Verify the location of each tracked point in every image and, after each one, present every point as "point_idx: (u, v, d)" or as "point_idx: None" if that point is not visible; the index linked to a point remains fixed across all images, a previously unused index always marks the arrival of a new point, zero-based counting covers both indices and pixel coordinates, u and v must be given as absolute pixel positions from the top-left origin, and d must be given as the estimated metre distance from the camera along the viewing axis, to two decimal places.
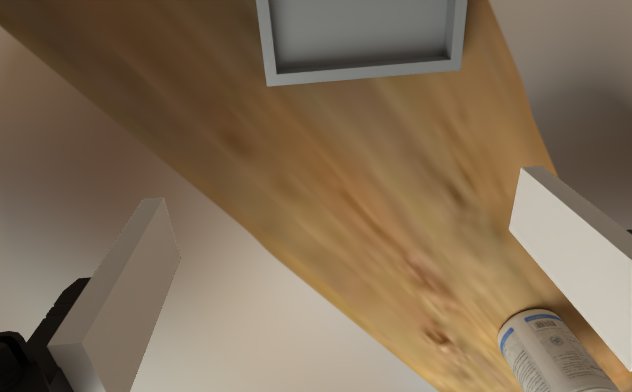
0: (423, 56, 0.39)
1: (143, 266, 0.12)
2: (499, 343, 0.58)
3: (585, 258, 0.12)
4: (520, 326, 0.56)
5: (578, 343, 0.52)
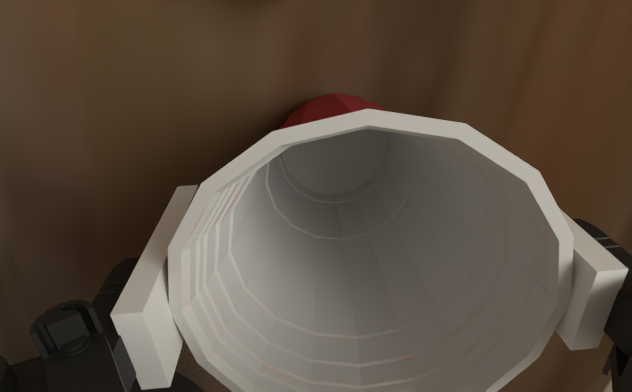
0: None
1: None
2: None
3: None
4: None
5: None
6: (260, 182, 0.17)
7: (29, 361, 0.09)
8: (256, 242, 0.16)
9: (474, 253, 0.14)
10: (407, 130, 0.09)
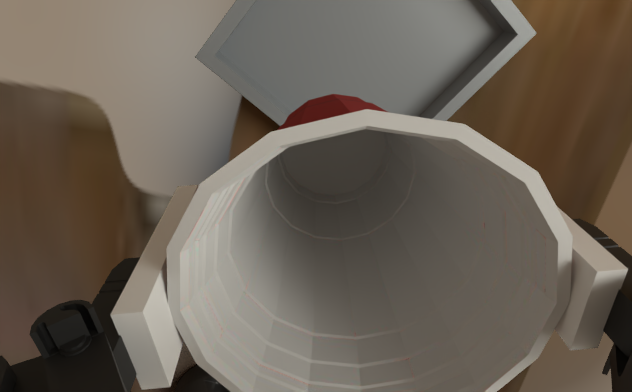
0: None
1: None
2: None
3: None
4: None
5: None
6: (259, 182, 0.17)
7: (29, 361, 0.09)
8: (255, 242, 0.16)
9: (473, 253, 0.14)
10: (406, 131, 0.09)
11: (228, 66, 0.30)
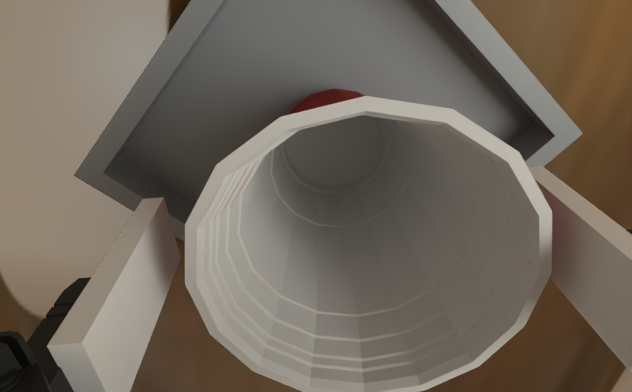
0: None
1: (143, 266, 0.12)
2: None
3: (585, 258, 0.12)
4: None
5: None
6: (265, 171, 0.18)
7: None
8: (262, 227, 0.17)
9: (465, 234, 0.15)
10: (401, 115, 0.10)
11: (126, 185, 0.21)
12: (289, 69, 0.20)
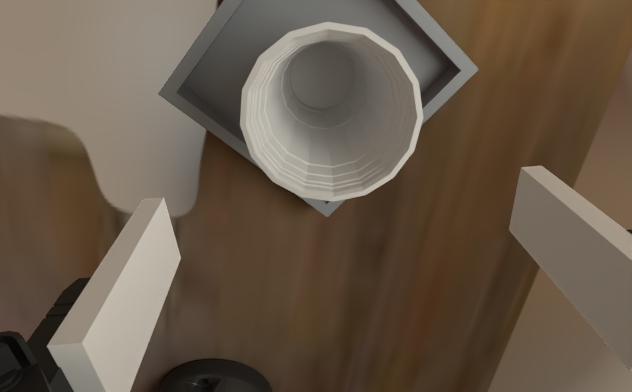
0: None
1: (143, 266, 0.12)
2: None
3: (585, 258, 0.12)
4: None
5: None
6: (278, 86, 0.30)
7: None
8: (276, 116, 0.29)
9: (391, 113, 0.27)
10: (343, 31, 0.22)
11: (190, 101, 0.33)
12: (293, 27, 0.32)
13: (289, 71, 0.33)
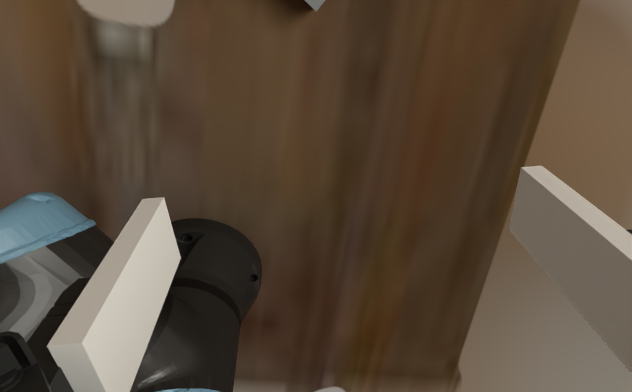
0: None
1: (143, 266, 0.12)
2: None
3: (585, 258, 0.12)
4: None
5: None
6: None
7: None
8: None
9: None
10: None
11: None
12: None
13: None
